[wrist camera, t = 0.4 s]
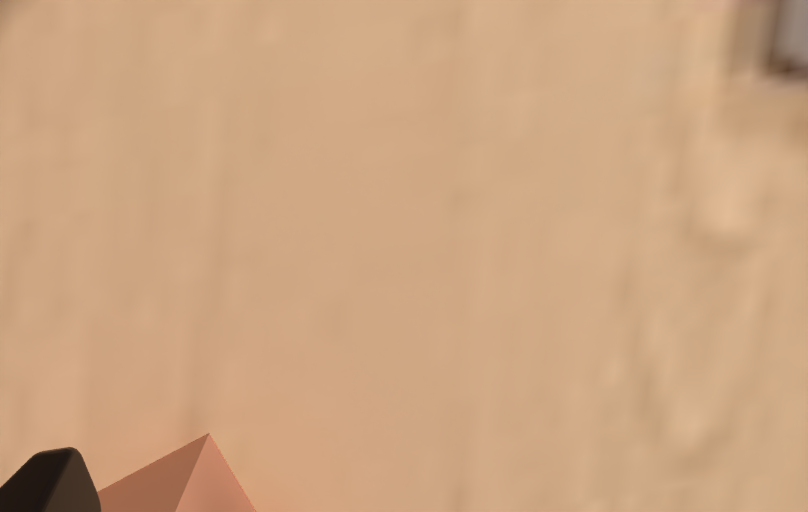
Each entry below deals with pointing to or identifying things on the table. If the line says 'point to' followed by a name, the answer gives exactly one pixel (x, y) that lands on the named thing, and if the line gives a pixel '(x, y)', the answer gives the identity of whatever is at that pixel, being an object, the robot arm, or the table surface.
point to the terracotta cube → (180, 484)
